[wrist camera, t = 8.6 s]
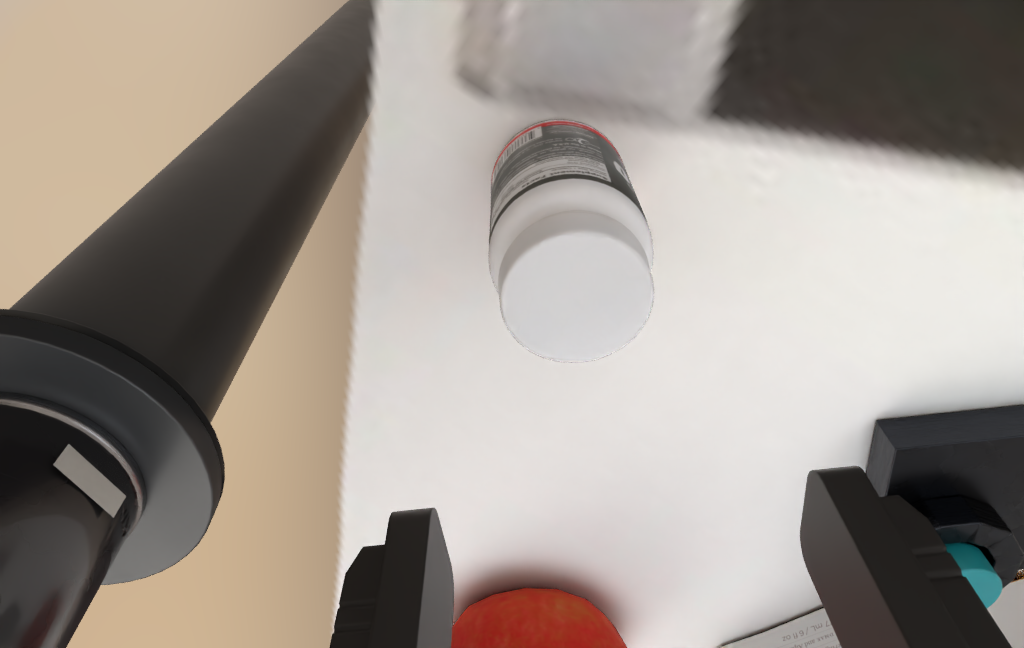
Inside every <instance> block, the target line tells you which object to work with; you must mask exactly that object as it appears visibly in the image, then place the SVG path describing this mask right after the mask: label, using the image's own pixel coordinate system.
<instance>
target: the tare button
mask: <svg viewBox="0 0 1024 648" xmlns="http://www.w3.org/2000/svg"><path fill="white" fill-rule="evenodd" d="M945 546H946V550H947V552H948V553H951V555H952V556H953V558H954V559H955V561H956V562H957V564H958V566H959V567H960V569H961V570H962V575H963V577H966V578H967V579H968V581H969V582H970V584H971V585H972V587H973V588H974V590H975V592H976V593H977V595H978V596H979V598H980V599H981V601H982V602H983V604H984V605H985V607H986V608H988V607H990V606H991V605H992V604H993V603H994V602H995V601H996V600H997V599H998V597H999V596H1000V594H1001V592H1002V581H1001V579H1000V577H999V576H998V574H997V573H996V572H995V570H994V569H993V567H992V566H991V564H990V563H989V562H988V560H987V559H986V557H985V556H984V554H983V553H982V552H981V550H980V549H978V548H977V547H975V546H974V545H972V544H969V543H965V542H963V543H952V544H945Z"/></svg>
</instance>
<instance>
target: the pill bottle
mask: <svg viewBox="0 0 1024 648" xmlns="http://www.w3.org/2000/svg"><path fill="white" fill-rule="evenodd" d="M653 254H654V251H653V240H652V236H651V232H650V229H649V226H648V223H647V221H646V218H645V215H644V213H643V211H642V208H641V206H640V203H639V201H638V199H637V196H636V194H635V191H634V189H633V186H632V184H631V182H630V180H629V177H628V175H627V172H626V170H625V167H624V164H623V162H622V159H621V157H620V155H619V154H618V152H617V150H616V149H615V147H614V146H613V145H612V143H611V142H610V141H609V140H608V139H607V138H606V137H605V136H604V135H603V134H602V133H600V132H599V131H597V130H595V129H594V128H592V127H590V126H588V125H585V124H582V123H579V122H575V121H569V120H549V121H544V122H540V123H537V124H534V125H532V126H530V127H528V128H526V129H524V130H523V131H521V132H520V133H518V134H517V135H516V136H515V137H513V138H512V139H511V140H510V141H509V142H508V143H507V145H506V146H505V147H504V148H503V150H502V151H501V153H500V155H499V156H498V158H497V161H496V163H495V166H494V169H493V173H492V179H491V217H490V237H489V267H490V273H491V277H492V280H493V283H494V285H495V288H496V290H497V292H498V294H499V295H500V307H501V313H502V317H503V320H504V322H505V324H506V326H507V328H508V330H509V331H510V333H511V334H512V336H513V337H514V338H515V339H516V340H517V341H518V342H519V343H520V344H521V345H522V346H523V347H524V348H526V349H527V350H529V351H530V352H532V353H534V354H536V355H538V356H540V357H542V358H546V359H549V360H553V361H558V362H569V363H578V362H587V361H593V360H597V359H600V358H603V357H605V356H608V355H610V354H612V353H614V352H616V351H618V350H620V349H621V348H623V347H624V346H626V345H627V344H628V343H629V342H630V341H631V340H632V339H634V338H635V337H636V336H637V334H638V333H639V332H640V331H641V329H642V328H643V326H644V325H645V323H646V322H647V320H648V318H649V315H650V313H651V310H652V306H653V300H654V285H653V279H652V275H651V269H652V265H653Z"/></svg>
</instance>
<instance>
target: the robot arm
mask: <svg viewBox="0 0 1024 648" xmlns="http://www.w3.org/2000/svg"><path fill="white" fill-rule="evenodd" d="M145 504H146V487H145V482H144V479H143V476H142V473H141V471H140V469H139V467H138V465H137V464H136V462H135V461H134V459H133V458H132V456H131V455H130V454H129V452H128V451H127V450H126V449H125V448H124V447H123V446H122V445H121V443H120V442H118V441H117V440H116V439H115V438H114V437H113V436H112V435H111V434H109V433H108V432H107V431H106V430H104V429H103V428H102V427H100V426H99V425H97V424H96V423H94V422H93V421H91V420H89V419H88V418H86V417H84V416H82V415H80V414H78V413H76V412H74V411H72V410H70V409H68V408H66V407H63V406H61V405H58V404H55V403H53V402H50V401H47V400H43V399H40V398H36V397H31V396H27V395H21V394H15V393H5V392H0V648H66V647H67V645H68V643H69V641H70V640H71V638H72V636H73V634H74V632H75V630H76V629H77V627H78V625H79V623H80V622H81V620H82V618H83V616H84V614H85V612H86V611H87V609H88V607H89V605H90V603H91V602H92V600H93V598H94V596H95V594H96V593H97V591H98V589H99V587H100V585H101V584H102V582H103V580H104V578H105V576H106V574H107V573H108V571H109V569H110V567H111V565H112V563H113V561H114V560H115V558H116V556H117V554H118V552H119V550H120V549H121V547H122V545H123V543H124V541H125V540H126V538H127V537H129V535H130V534H131V533H132V532H133V530H134V529H135V527H136V525H137V523H138V521H139V520H140V518H141V516H142V514H143V511H144V509H145ZM800 541H801V548H802V553H803V557H804V561H805V564H806V567H807V569H808V572H809V574H810V576H811V579H812V581H813V583H814V586H815V588H816V590H817V592H818V595H819V597H820V599H821V602H822V604H823V606H824V609H825V611H826V613H827V615H828V618H829V620H830V622H831V625H832V627H833V629H834V631H835V634H836V636H837V638H838V641H839V643H840V645H841V647H842V648H1012V647H1011V645H1010V643H1009V642H1008V640H1007V639H1006V637H1005V636H1004V634H1003V633H1002V631H1001V630H1000V628H999V627H998V625H997V624H996V622H995V621H994V619H993V618H992V616H991V614H990V613H989V611H988V610H987V608H986V607H985V605H984V604H983V602H982V601H981V599H980V598H979V596H978V595H977V593H976V592H975V590H974V588H973V587H972V585H971V584H970V582H969V581H968V579H967V578H966V577H963V575H962V570H961V569H960V567H959V566H958V564H957V562H956V561H955V559H954V558H953V556H952V555H951V553H948V552H947V550H946V546H945V544H944V543H943V541H942V540H941V538H940V536H939V535H938V533H937V532H936V530H935V529H934V527H933V526H932V524H931V523H930V521H929V520H928V518H927V517H925V516H924V515H923V514H922V513H920V512H919V511H918V510H917V509H915V508H914V507H913V506H912V505H910V504H909V503H908V502H907V501H905V500H904V499H903V498H902V497H900V496H899V495H893V496H883V497H879V495H878V493H877V492H876V490H875V488H874V487H873V485H872V483H871V482H870V480H869V478H868V477H867V475H866V474H865V472H864V471H863V470H862V469H861V468H860V467H858V466H850V467H840V468H831V469H821V470H812V471H810V472H809V474H808V477H807V484H806V491H805V499H804V506H803V513H802V521H801V528H800ZM339 604H340V608H339V609H338V611H337V616H336V620H335V625H334V633H333V634H332V639H331V643H330V648H451V639H452V623H453V606H454V583H453V573H452V566H451V562H450V558H449V554H448V551H447V547H446V543H445V539H444V536H443V532H442V528H441V525H440V521H439V517H438V514H437V511H436V509H435V508H426V509H417V510H407V511H397V512H392V513H391V515H390V518H389V523H388V529H387V535H386V541H385V545H377V546H367V547H363V548H362V549H361V551H360V552H359V554H358V555H357V557H356V559H355V560H354V562H353V563H352V565H351V566H350V568H349V569H348V571H347V572H346V574H345V579H344V583H343V588H342V593H341V597H340V602H339Z"/></svg>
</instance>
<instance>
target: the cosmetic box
mask: <svg viewBox="0 0 1024 648" xmlns="http://www.w3.org/2000/svg"><path fill="white" fill-rule="evenodd" d="M720 648H842V647H841V645H840V643H839V641H838V638H837V636H836V634H835V631H834V629H833V627H832V625H831V622H830V620H829V618H828V615H827V613H826V611H825V609H824V608H822V609H820V610H817V611H815V612H812V613H810V614H807V615H805V616H802V617H800V618H797V619H795V620H793V621H790V622H788V623H785V624H783V625H780V626H778V627H775V628H773V629H770V630H768V631H766V632H763V633H760V634H758V635H755V636H752V637H749V638H746V639H743V640H740V641H737V642H733V643H730V644H727V645H725V646H722V647H720Z"/></svg>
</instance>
